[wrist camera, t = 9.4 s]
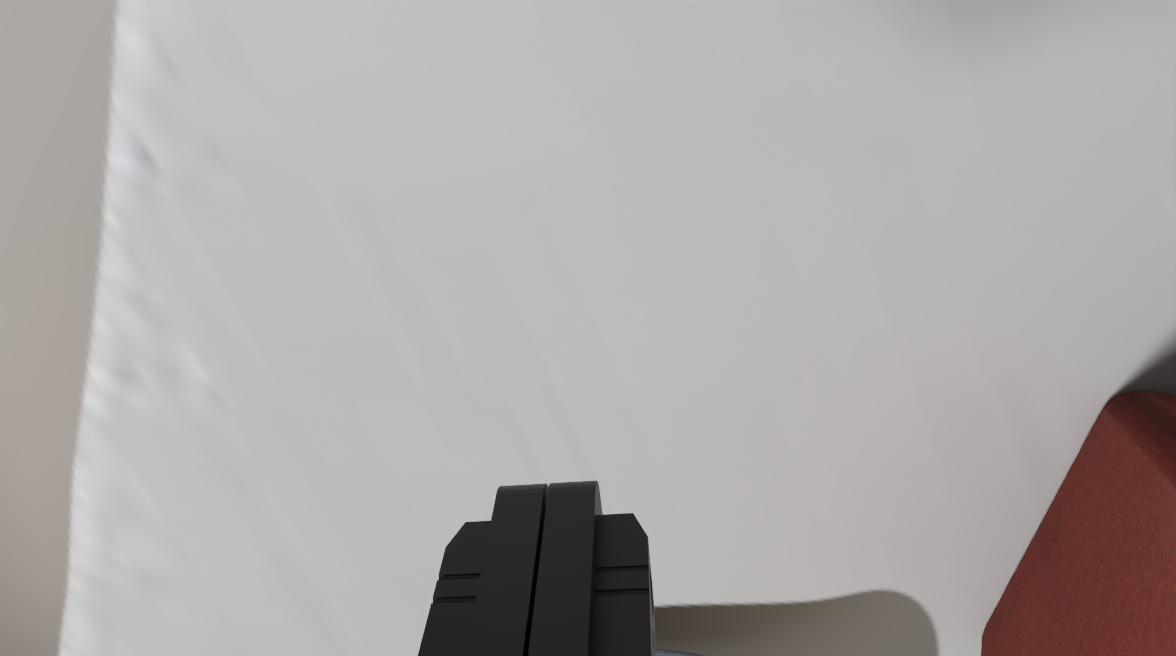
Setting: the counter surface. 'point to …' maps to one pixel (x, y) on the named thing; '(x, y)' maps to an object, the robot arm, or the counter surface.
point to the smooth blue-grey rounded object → (673, 653)
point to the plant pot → (1102, 547)
